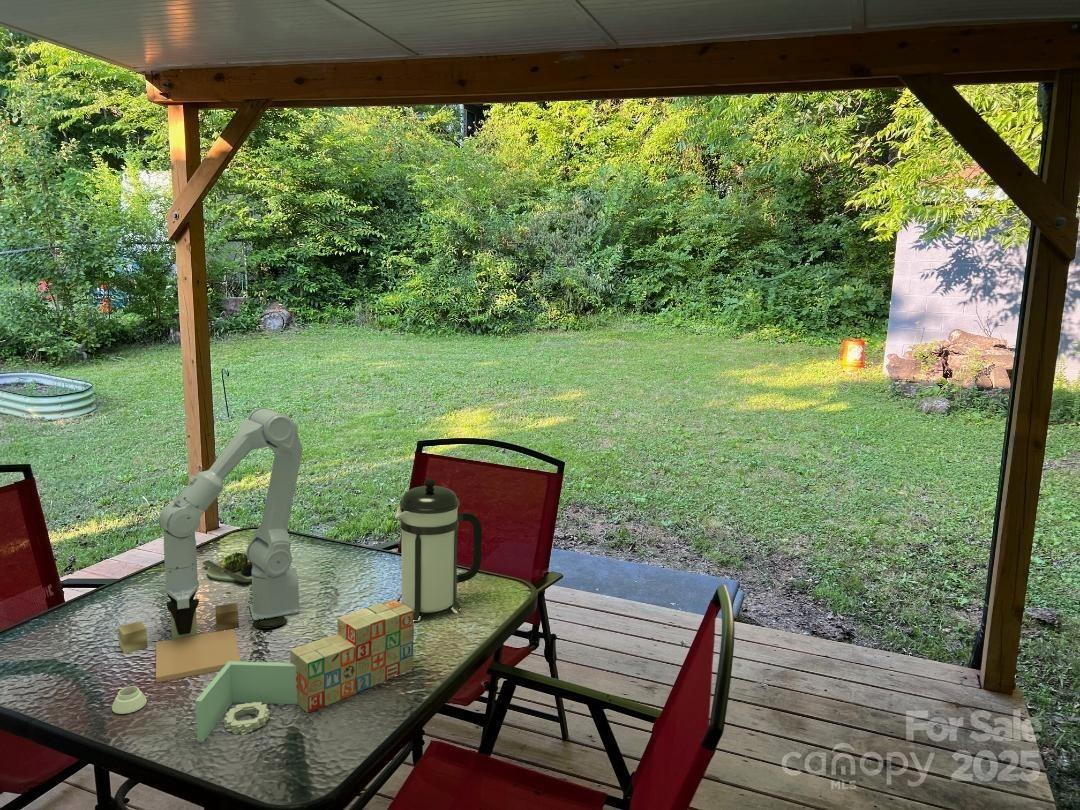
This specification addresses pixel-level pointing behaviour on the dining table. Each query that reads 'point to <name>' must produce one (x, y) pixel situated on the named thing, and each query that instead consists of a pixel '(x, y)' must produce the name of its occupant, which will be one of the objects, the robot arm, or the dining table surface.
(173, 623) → the sage block
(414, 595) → the coffee press
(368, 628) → the stack of blocks
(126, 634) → the pale oak block
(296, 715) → the dining table surface
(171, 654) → the tan flat square slab
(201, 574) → the dining table surface
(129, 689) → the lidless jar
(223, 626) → the walnut block
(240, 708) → the right angle wall
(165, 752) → the dining table surface
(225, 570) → the salad plate
